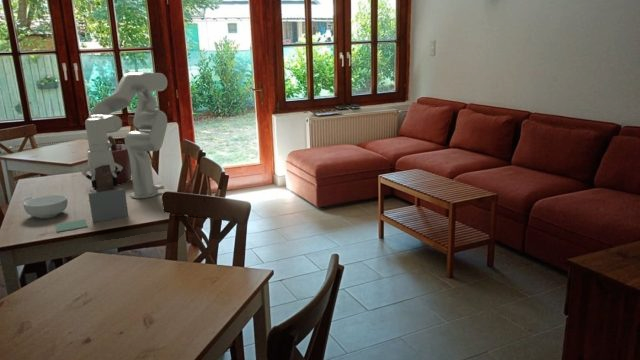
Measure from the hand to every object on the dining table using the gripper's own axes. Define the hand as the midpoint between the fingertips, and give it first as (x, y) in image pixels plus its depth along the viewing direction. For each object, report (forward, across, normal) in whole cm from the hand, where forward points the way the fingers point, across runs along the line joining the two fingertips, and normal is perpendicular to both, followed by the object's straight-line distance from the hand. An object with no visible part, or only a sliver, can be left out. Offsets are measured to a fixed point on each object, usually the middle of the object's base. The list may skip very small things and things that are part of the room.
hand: (105, 187), depth 215 cm
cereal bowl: (+12, +24, -11) cm, 29 cm away
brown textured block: (+10, 0, 0) cm, 10 cm away
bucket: (+13, -8, -55) cm, 58 cm away
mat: (+11, +16, +10) cm, 22 cm away
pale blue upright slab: (+12, +1, +9) cm, 14 cm away
